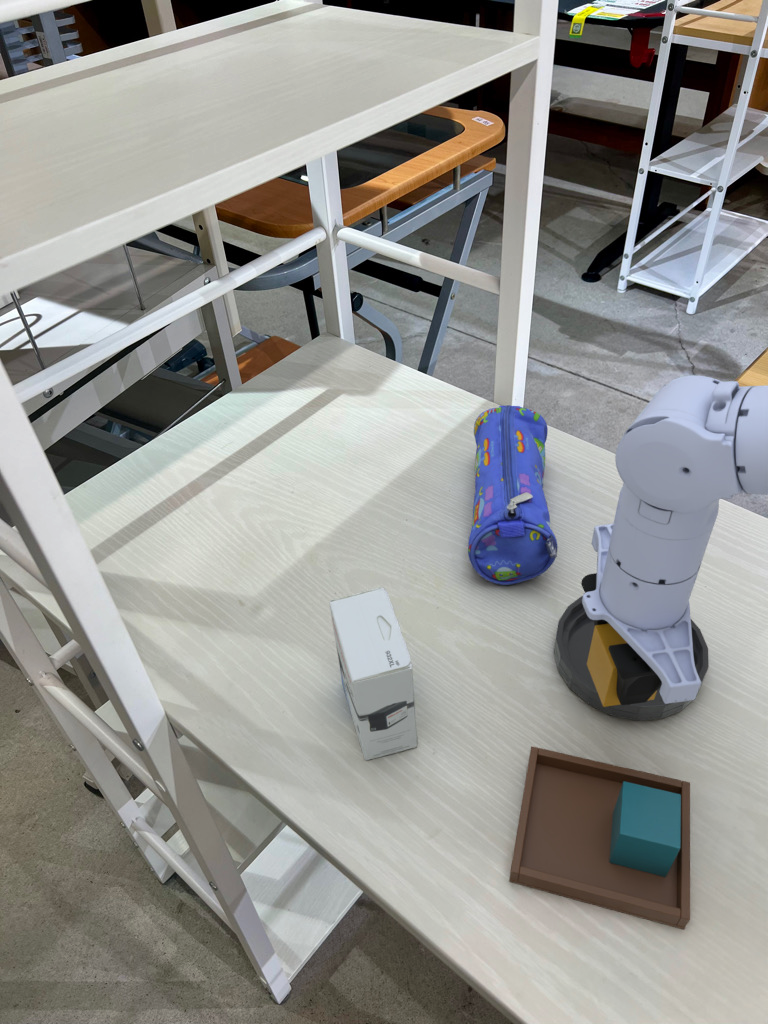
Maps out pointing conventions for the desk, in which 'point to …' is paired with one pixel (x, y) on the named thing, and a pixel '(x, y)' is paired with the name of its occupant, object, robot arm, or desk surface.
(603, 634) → the mustard block
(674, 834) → the teal block
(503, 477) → the pencil case
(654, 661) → the robot arm
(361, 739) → the ink box
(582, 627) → the pan
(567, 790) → the tray
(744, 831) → the desk surface
